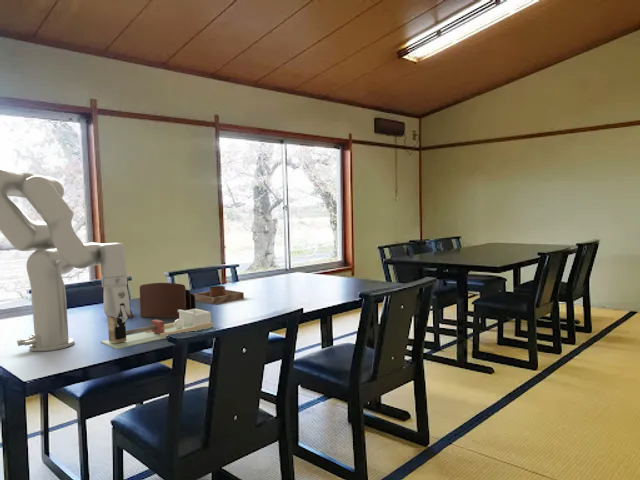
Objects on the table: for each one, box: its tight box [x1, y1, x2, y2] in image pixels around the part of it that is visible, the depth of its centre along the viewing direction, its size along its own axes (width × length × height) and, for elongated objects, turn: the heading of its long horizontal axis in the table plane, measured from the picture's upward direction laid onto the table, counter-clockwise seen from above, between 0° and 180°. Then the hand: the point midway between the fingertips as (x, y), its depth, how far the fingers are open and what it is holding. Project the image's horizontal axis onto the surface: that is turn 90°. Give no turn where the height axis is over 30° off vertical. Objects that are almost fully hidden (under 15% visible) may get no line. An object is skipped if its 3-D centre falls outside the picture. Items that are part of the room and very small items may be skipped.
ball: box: [173, 318, 184, 329], centre depth 172 cm, size 4×4×4 cm
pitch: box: [100, 308, 214, 350], centre depth 167 cm, size 35×12×6 cm, turn 136°
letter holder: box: [139, 282, 197, 318], centre depth 199 cm, size 10×20×14 cm, turn 81°
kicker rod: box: [107, 315, 165, 343], centre depth 161 cm, size 17×5×8 cm, turn 136°
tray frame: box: [193, 289, 245, 305], centre depth 230 cm, size 17×17×3 cm
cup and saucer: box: [207, 285, 229, 297], centre depth 230 cm, size 12×12×6 cm
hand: (117, 336), depth 157 cm, fingers closed on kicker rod, 4 cm apart
